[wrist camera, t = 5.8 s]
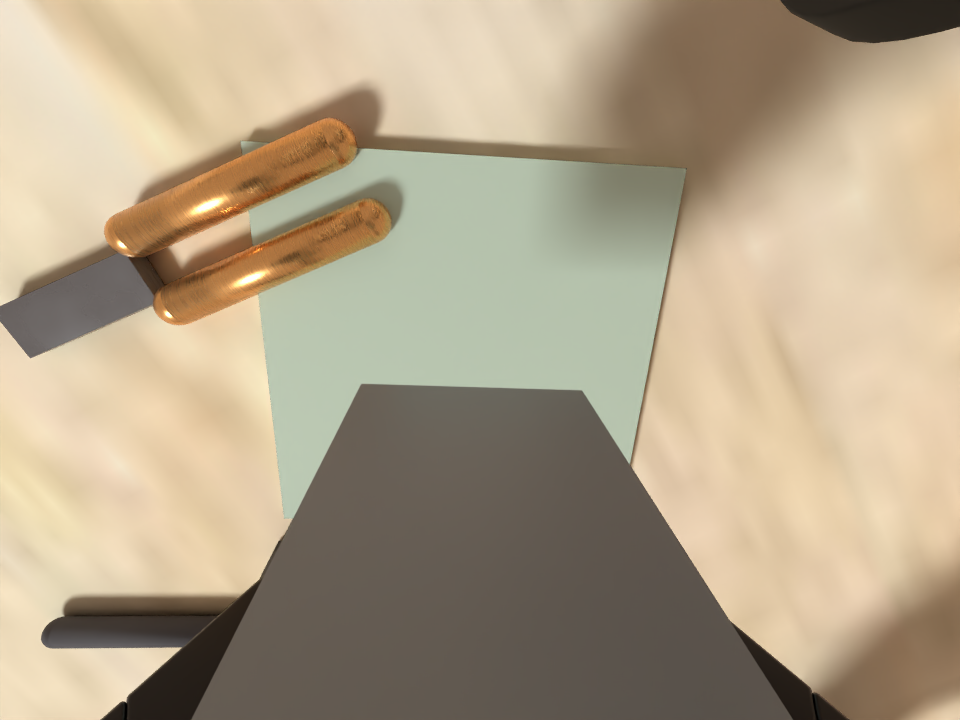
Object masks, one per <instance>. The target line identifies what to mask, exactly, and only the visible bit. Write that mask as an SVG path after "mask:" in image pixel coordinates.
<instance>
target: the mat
mask: <svg viewBox="0 0 960 720" xmlns="http://www.w3.org/2000/svg"><path fill="white" fill-rule="evenodd" d="M267 144H269V143H267V142H250V141H241V149H242V156H243V155H245V154H247V153H249V152H252V151H254V150H256V149H258V148H260V147H262V146H265V145H267ZM686 170H687V168H673V167H657V166H641V165H625V164H608V163H592V162H576V161H560V160H543V159H527V158H511V157H494V156H478V155H462V154H446V153H429V152H413V151H397V150H381V149H364V148H357V152H356V156H355V158H354V160H353V161H352V162H351V163H350V164H349V165H348V166H346V167H345V168H342V169H340V170H338V171H336V172H334V173H331V174H329V175H327V176H325V177H322V178H320V179H318V180H316V181H313V182H311V183H309V184H307V185H305V186H302V187H300V188H298V189H296V190H293V191H291V192H289V193H287V194H284V195H282V196H280V197H278V198H276V199H273V200H271V201H269V202H267V203H264V204H262V205H260V206H258V207H255V208H253V209H251V210H249V218H250V227H251V236H252V244H253V246H255V245H257V244H260V243H262V242H264V241H266V240H269V239H271V238H273V237H275V236H278V235H280V234H282V233H285V232H287V231H289V230H291V229H294V228H296V227H298V226H300V225H303V224H305V223H307V222H310V221H312V220H314V219H316V218H319V217H321V216H323V215H325V214H328V213H330V212H332V211H334V210H337V209H339V208H341V207H344V206H346V205H348V204H350V203H353V202H355V201H357V200H360V199H363V198H373V199H376V200H378V201H380V202H381V203H383V204H384V205H385V206H386V208H387V209H388V210H389V212H390V215H391V219H392V226H391V230H390V232H389V234H388V235H387V237H386V238H385V239H383V240H382V241H380V242H378V243H376V244H374V245H371V246H369V247H367V248H364V249H362V250H360V251H357V252H355V253H353V254H350V255H348V256H346V257H343V258H341V259H339V260H336V261H334V262H332V263H329V264H327V265H325V266H322V267H320V268H318V269H315V270H313V271H311V272H308V273H306V274H304V275H301V276H299V277H297V278H294V279H292V280H290V281H287V282H285V283H283V284H280V285H278V286H276V287H273V288H271V289H269V290H266V291H264V292H262V293H259V294H258V296H259V305H260V313H261V322H262V331H263V339H264V348H265V357H266V365H267V374H268V383H269V391H270V400H271V408H272V417H273V426H274V434H275V443H276V452H277V460H278V469H279V478H280V486H281V495H282V503H283V512H284V518H288V519H293V518H294V516H295V514H296V512H297V510H298V508H299V506H300V504H301V502H302V500H303V498H304V496H305V494H306V492H307V490H308V488H309V486H310V484H311V482H312V480H313V478H314V476H315V474H316V472H317V470H318V468H319V466H320V464H321V462H322V460H323V458H324V456H325V454H326V452H327V450H328V448H329V446H330V445H331V443H332V441H333V439H334V437H335V435H336V433H337V431H338V429H339V427H340V425H341V423H342V421H343V419H344V417H345V415H346V413H347V411H348V409H349V407H350V405H351V403H352V401H353V399H354V397H355V395H356V393H357V391H358V389H359V387H360V385H361V384H389V385H422V386H455V387H488V388H522V389H555V390H582V391H583V392H584V394H585V396H586V397H587V399H588V400H589V402H590V403H591V405H592V407H593V408H594V410H595V411H596V413H597V414H598V416H599V417H600V419H601V421H602V422H603V424H604V425H605V427H606V428H607V430H608V432H609V433H610V435H611V436H612V438H613V439H614V441H615V442H616V444H617V446H618V447H619V449H620V450H621V452H622V453H623V455H624V457H625V458H626V460H627V461H628V463H629V464H630V461H631V456H632V451H633V445H634V440H635V435H636V430H637V425H638V419H639V414H640V409H641V404H642V399H643V393H644V388H645V383H646V378H647V373H648V367H649V362H650V357H651V352H652V347H653V341H654V336H655V331H656V326H657V321H658V315H659V310H660V305H661V300H662V294H663V289H664V284H665V279H666V274H667V268H668V263H669V258H670V253H671V248H672V242H673V237H674V232H675V227H676V222H677V216H678V211H679V206H680V201H681V196H682V190H683V185H684V180H685V175H686Z"/></svg>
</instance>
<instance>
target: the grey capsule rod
mask: <svg viewBox="0 0 960 720" xmlns="http://www.w3.org/2000/svg"><path fill="white" fill-rule="evenodd" d="M216 617H218V616H65V617H60V618H57V619H55V620H53V621H52V622H50V623H49V624H48V625H47V626H46V627H45V629H44V630H43V632H42V636H41V640H42V643H43V644H44V645H45V646H46V647H48V648H164V647H184V646H185V645H186V644H187V643H188V642H189V641H190V640H192V639H193V638H194V637H195V636H196V635H197V634H198V633H199V632H201V631H202V630H203V629H204V628H205V627H206V626H207V625H208V624H210V623H211V622H212V621H213V620H214V619H215V618H216Z"/></svg>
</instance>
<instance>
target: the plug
mask: <svg viewBox="0 0 960 720" xmlns="http://www.w3.org/2000/svg"><path fill="white" fill-rule="evenodd" d="M191 720H793V719H792V717H791V716H790V714H789V713H788V711H787V710H786V708H785V706H784V705H783V703H782V702H781V700H780V699H779V697H778V695H777V694H776V692H775V691H774V689H773V688H772V686H771V685H770V683H769V681H768V680H767V678H766V677H765V675H764V674H763V672H762V670H761V669H760V667H759V666H758V664H757V663H756V661H755V660H754V658H753V656H752V655H751V653H750V652H749V650H748V649H747V647H746V646H745V644H744V642H743V641H742V639H741V638H740V636H739V635H738V633H737V631H736V630H735V628H734V627H733V625H732V624H731V622H730V621H729V619H728V617H727V616H726V614H725V613H724V611H723V610H722V608H721V606H720V605H719V603H718V602H717V600H716V599H715V597H714V596H713V594H712V592H711V591H710V589H709V588H708V586H707V585H706V583H705V581H704V580H703V578H702V577H701V575H700V574H699V572H698V571H697V569H696V567H695V566H694V564H693V563H692V561H691V560H690V558H689V556H688V555H687V553H686V552H685V550H684V549H683V547H682V546H681V544H680V542H679V541H678V539H677V538H676V536H675V535H674V533H673V531H672V530H671V528H670V527H669V525H668V524H667V522H666V521H665V519H664V517H663V516H662V514H661V513H660V511H659V510H658V508H657V506H656V505H655V503H654V502H653V500H652V499H651V497H650V496H649V494H648V492H647V491H646V489H645V488H644V486H643V485H642V483H641V482H640V480H639V478H638V477H637V475H636V474H635V472H634V471H633V469H632V467H631V466H630V464H629V463H628V461H627V460H626V458H625V457H624V455H623V453H622V452H621V450H620V449H619V447H618V446H617V444H616V442H615V441H614V439H613V438H612V436H611V435H610V433H609V432H608V430H607V428H606V427H605V425H604V424H603V422H602V421H601V419H600V417H599V416H598V414H597V413H596V411H595V410H594V408H593V407H592V405H591V403H590V402H589V400H588V399H587V397H586V396H585V394H584V392H583V391H582V390H555V389H522V388H488V387H455V386H422V385H389V384H361V385H360V387H359V389H358V391H357V393H356V395H355V397H354V399H353V401H352V403H351V405H350V407H349V409H348V411H347V413H346V415H345V417H344V419H343V421H342V423H341V425H340V427H339V429H338V431H337V433H336V435H335V437H334V439H333V441H332V443H331V445H330V446H329V448H328V450H327V452H326V454H325V456H324V458H323V460H322V462H321V464H320V466H319V468H318V470H317V472H316V474H315V476H314V478H313V480H312V482H311V484H310V486H309V488H308V490H307V492H306V494H305V496H304V498H303V500H302V502H301V504H300V506H299V508H298V510H297V512H296V514H295V516H294V518H293V520H292V522H291V524H290V526H289V528H288V530H287V531H286V533H285V535H284V537H283V539H282V541H281V543H280V545H279V547H278V549H277V551H276V553H275V555H274V557H273V559H272V561H271V563H270V565H269V567H268V569H267V571H266V573H265V575H264V577H263V579H262V581H261V583H260V585H259V587H258V589H257V591H256V593H255V595H254V597H253V599H252V601H251V603H250V605H249V607H248V609H247V611H246V613H245V615H244V616H243V618H242V620H241V622H240V624H239V626H238V628H237V630H236V632H235V634H234V636H233V638H232V640H231V642H230V644H229V646H228V648H227V650H226V652H225V654H224V656H223V658H222V660H221V662H220V664H219V666H218V668H217V670H216V672H215V674H214V676H213V678H212V680H211V682H210V684H209V686H208V688H207V690H206V692H205V694H204V696H203V698H202V700H201V701H200V703H199V705H198V707H197V709H196V711H195V713H194V715H193V717H192V719H191Z"/></svg>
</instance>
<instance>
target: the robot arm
mask: <svg viewBox="0 0 960 720" xmlns="http://www.w3.org/2000/svg"><path fill="white" fill-rule="evenodd" d="M263 577H264V576H263ZM263 577H262V578H260V579H259V580H258V581H257V582H256V583H255V584H254V585H252V586H251V587H250V588H249V589H248V590H247V591H246V592H245V593H243V594H242V595H241V596H240V597H239V598H238V599H237V600H236V601H234V602H233V603H232V604H231V605H230V606H229V607H228V608H227V609H225V610H224V611H223V612H222V613H221V614H220V615H219V616H218V617H216V618H215V619H214V620H213V621H212V622H211V623H210V624H208V625H207V626H206V627H205V628H204V629H203V630H202V631H201V632H199V633H198V634H197V635H196V636H195V637H194V638H193V639H192V640H190V641H189V642H188V643H187V644H186V645H185V646H184V647H183V648H181V649H180V650H179V651H178V652H177V653H176V654H175V655H173V656H172V657H171V658H170V659H169V660H168V661H167V662H166V663H164V664H163V665H162V666H161V667H160V668H159V669H158V670H157V671H155V672H154V673H153V674H152V675H151V676H150V677H149V678H148V679H146V680H145V681H144V682H143V683H142V684H141V685H140V686H139V687H137V688H136V689H135V690H134V691H133V692H132V693H131V694H129V695H128V697H127V703H126V702H124V701H123V702H120V703H119V704H118V705H117V706H116V707H114V708H113V709H112V710H111V711H110V712H109V713H108V714H107V715H105V716H104V717H103V718H102V719H101V720H191V719H192V717H193V715H194V713H195V711H196V709H197V707H198V705H199V703H200V701H201V700H202V698H203V696H204V694H205V692H206V690H207V688H208V686H209V684H210V682H211V680H212V678H213V676H214V674H215V672H216V670H217V668H218V666H219V664H220V662H221V660H222V658H223V656H224V654H225V652H226V650H227V648H228V646H229V644H230V642H231V640H232V638H233V636H234V634H235V632H236V630H237V628H238V626H239V624H240V622H241V620H242V618H243V616H244V615H245V613H246V611H247V609H248V607H249V605H250V603H251V601H252V599H253V597H254V595H255V593H256V591H257V589H258V587H259V585H260V583H261V581H262V579H263ZM729 621H730V620H729ZM730 622H731V621H730ZM731 624H732V625H733V627H734V628H735V630H736V631H737V633H738V635H739V636H740V638H741V639H742V641H743V642H744V644H745V646H746V647H747V649H748V650H749V652H750V653H751V655H752V656H753V658H754V660H755V661H756V663H757V664H758V666H759V667H760V669H761V670H762V672H763V674H764V675H765V677H766V678H767V680H768V681H769V683H770V685H771V686H772V688H773V689H774V691H775V692H776V694H777V695H778V697H779V699H780V700H781V702H782V703H783V705H784V706H785V708H786V710H787V711H788V713H789V714H790V716H791V717H792V719H793V720H849V719H848V718H847V717H846V716H844V715H843V714H842V713H841V712H840V711H838V710H837V709H836V708H835V707H833V706H832V705H831V704H830V703H829V702H827V701H826V700H825V699H824V698H823V697H821V696H820V695H819V694H818V693H812V690H811V688H810V687H809V686H808V685H807V684H805V683H804V682H803V681H802V680H801V679H799V678H798V677H797V676H796V675H795V674H793V673H792V672H791V671H790V670H789V669H787V668H786V667H785V666H784V665H783V664H781V663H780V662H779V661H778V660H777V659H775V658H774V657H773V656H772V655H771V654H769V653H768V652H767V651H766V650H764V649H763V648H762V647H761V646H760V645H758V644H757V643H756V642H755V641H754V640H752V639H751V638H750V637H749V636H748V635H746V634H745V633H744V632H743V631H742V630H740V629H739V628H738V627H737V626H736V625H734V624H733V623H732V622H731Z"/></svg>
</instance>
